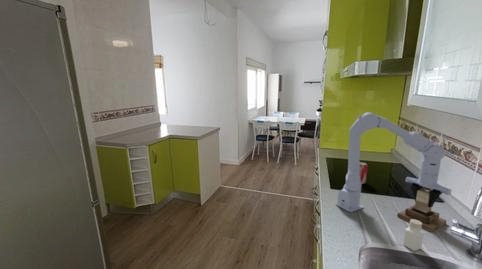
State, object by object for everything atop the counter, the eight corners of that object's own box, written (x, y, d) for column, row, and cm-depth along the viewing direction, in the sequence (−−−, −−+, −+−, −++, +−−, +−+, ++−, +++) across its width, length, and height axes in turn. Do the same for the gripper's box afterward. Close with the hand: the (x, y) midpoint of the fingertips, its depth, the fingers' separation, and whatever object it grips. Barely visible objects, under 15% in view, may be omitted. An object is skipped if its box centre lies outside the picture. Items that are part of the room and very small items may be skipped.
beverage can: (367, 185, 126) (369, 165, 123) (355, 184, 127) (357, 164, 125) (363, 181, 132) (365, 162, 129) (352, 180, 133) (354, 161, 131)
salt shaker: (414, 252, 72) (419, 226, 70) (401, 244, 76) (405, 219, 74) (421, 249, 74) (426, 223, 72) (409, 241, 77) (412, 217, 75)
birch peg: (426, 212, 87) (429, 194, 86) (414, 208, 91) (417, 190, 89) (431, 210, 89) (434, 192, 87) (419, 206, 92) (422, 188, 91)
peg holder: (431, 232, 83) (433, 222, 82) (397, 216, 93) (398, 208, 92) (445, 223, 88) (447, 214, 87) (412, 210, 99) (413, 201, 98)
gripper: (457, 177, 82) (451, 210, 85) (413, 166, 95) (408, 194, 97) (448, 180, 79) (442, 214, 82) (404, 168, 92) (400, 198, 94)
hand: (423, 204), depth 89 cm, fingers closed on birch peg, 4 cm apart
